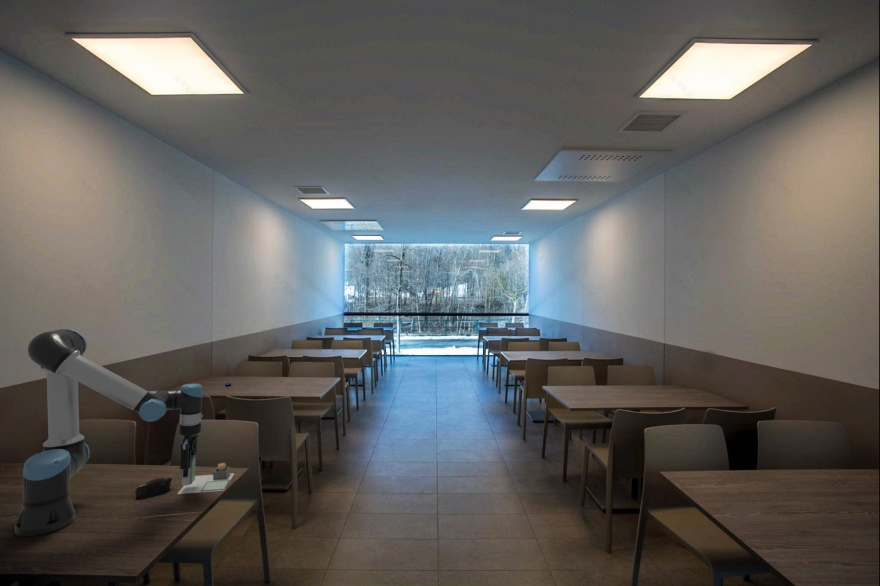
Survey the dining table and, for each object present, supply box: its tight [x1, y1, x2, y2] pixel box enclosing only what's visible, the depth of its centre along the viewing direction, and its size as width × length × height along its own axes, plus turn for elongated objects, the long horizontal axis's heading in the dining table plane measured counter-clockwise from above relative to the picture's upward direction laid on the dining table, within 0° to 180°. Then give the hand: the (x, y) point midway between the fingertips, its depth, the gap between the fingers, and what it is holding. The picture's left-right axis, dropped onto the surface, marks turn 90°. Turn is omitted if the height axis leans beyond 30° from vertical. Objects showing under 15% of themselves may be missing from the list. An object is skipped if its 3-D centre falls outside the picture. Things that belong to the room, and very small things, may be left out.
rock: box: [134, 477, 172, 500], centre depth 170 cm, size 10×9×6 cm
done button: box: [217, 462, 227, 471], centre depth 186 cm, size 3×3×3 cm
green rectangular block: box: [179, 454, 197, 485], centre depth 174 cm, size 4×4×11 cm
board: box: [177, 472, 235, 495], centre depth 180 cm, size 17×17×1 cm
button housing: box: [212, 466, 231, 480], centre depth 186 cm, size 5×5×3 cm
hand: (187, 481), depth 174 cm, fingers closed on green rectangular block, 4 cm apart
